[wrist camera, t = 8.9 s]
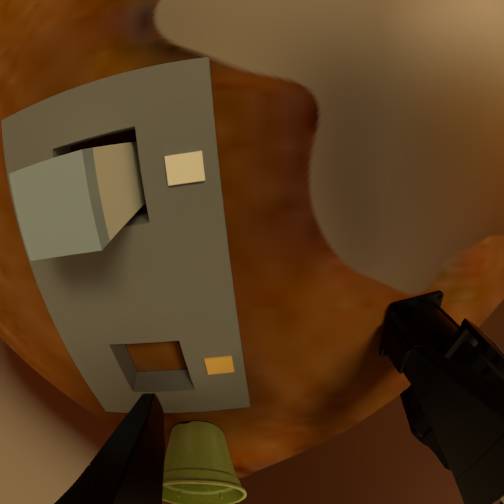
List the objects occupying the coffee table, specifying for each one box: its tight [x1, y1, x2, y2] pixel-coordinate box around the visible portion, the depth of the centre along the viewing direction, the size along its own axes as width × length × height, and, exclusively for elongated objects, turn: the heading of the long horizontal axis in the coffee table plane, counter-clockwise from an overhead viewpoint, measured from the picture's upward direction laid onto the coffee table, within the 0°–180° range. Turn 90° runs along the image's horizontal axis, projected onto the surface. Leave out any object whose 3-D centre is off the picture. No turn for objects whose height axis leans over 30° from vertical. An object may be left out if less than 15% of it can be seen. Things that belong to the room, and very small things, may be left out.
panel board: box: [1, 57, 251, 413], centre depth 18 cm, size 14×26×3 cm, turn 5°
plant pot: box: [162, 421, 247, 504], centre depth 24 cm, size 9×9×9 cm
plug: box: [9, 142, 146, 261], centre depth 13 cm, size 4×4×8 cm
